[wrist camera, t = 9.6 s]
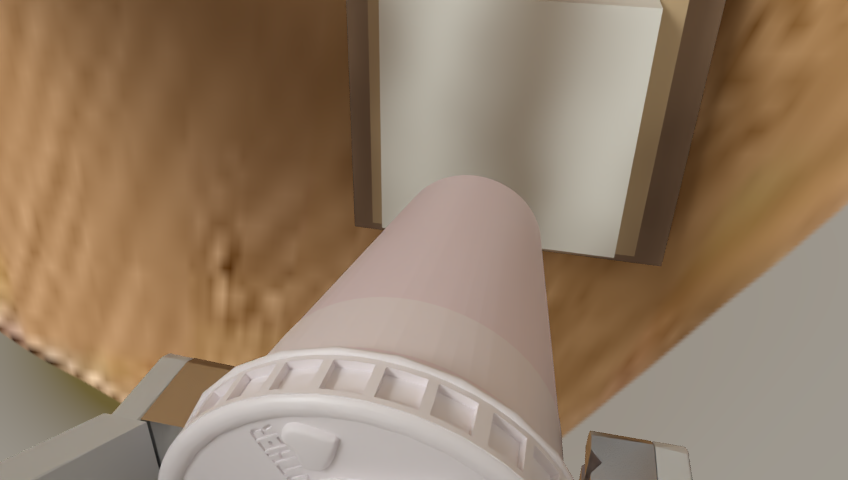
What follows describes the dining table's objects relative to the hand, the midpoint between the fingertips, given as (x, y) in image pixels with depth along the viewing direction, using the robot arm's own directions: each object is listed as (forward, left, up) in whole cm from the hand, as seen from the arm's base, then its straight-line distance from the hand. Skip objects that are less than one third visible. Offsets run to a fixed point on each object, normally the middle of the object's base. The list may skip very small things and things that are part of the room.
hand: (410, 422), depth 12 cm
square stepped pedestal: (0, 0, -20) cm, 20 cm away
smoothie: (0, 0, -7) cm, 7 cm away
